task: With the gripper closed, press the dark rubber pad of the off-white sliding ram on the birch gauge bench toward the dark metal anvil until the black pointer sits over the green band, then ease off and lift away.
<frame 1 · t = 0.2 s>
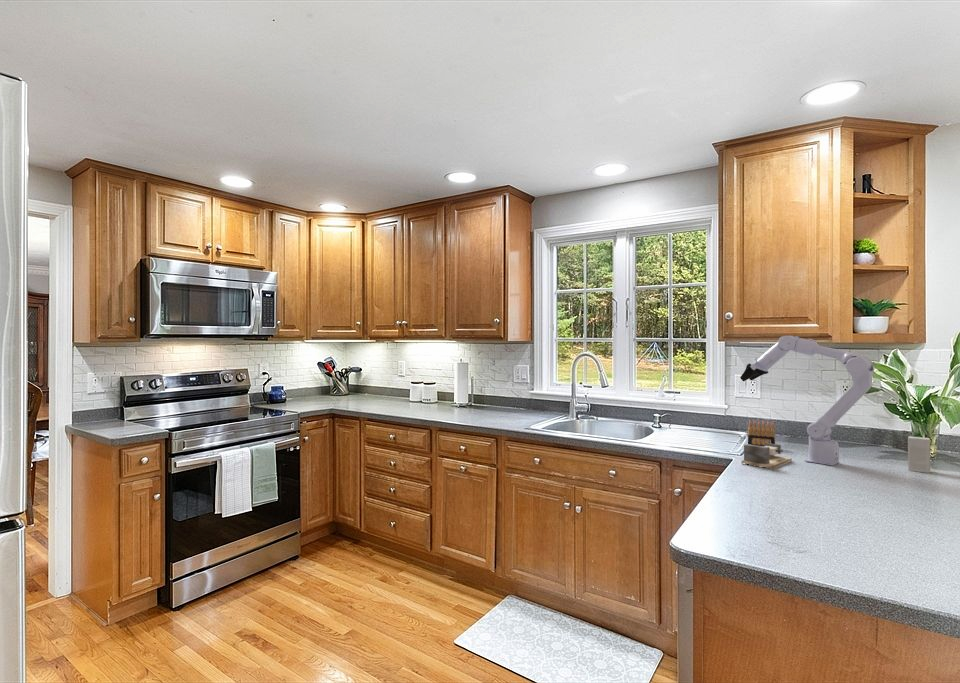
hand: (745, 379, 221), 31 cm above the worktop, tool tilted 45°, fingers open, 7 cm apart
skincare box: (919, 471, 186), on the worktop
gauge bench: (766, 461, 202), on the worktop
ammunition clip: (761, 447, 228), on the worktop
gauge ram: (771, 449, 203), point 4 cm above the worktop, slide at 0.0 cm
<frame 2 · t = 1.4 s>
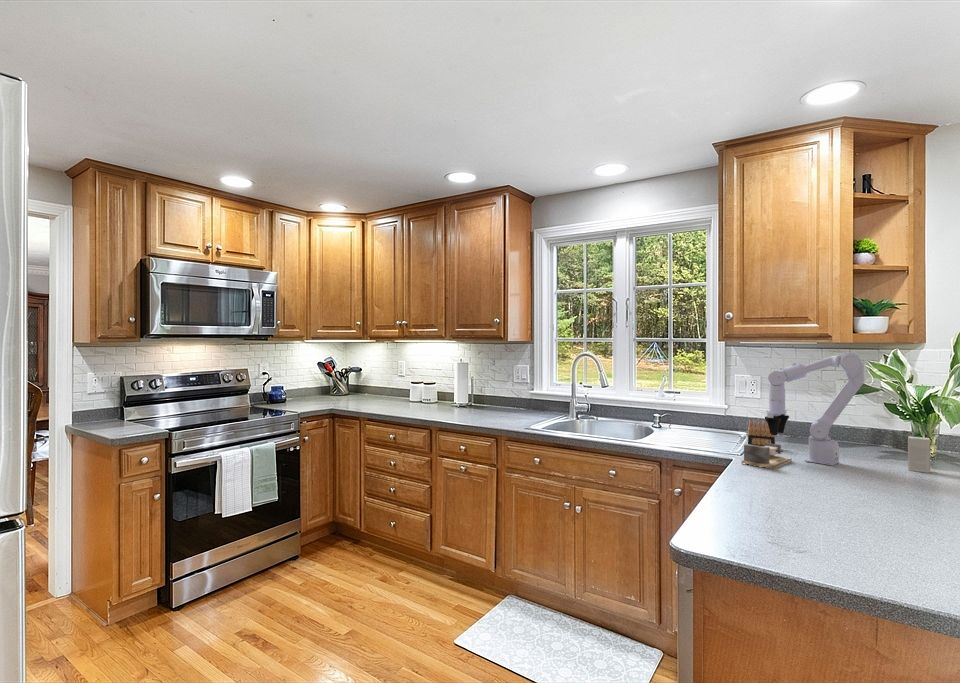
hand: (777, 433, 209), 9 cm above the worktop, tool pointing down, fingers open, 6 cm apart
nothing on the worktop moved.
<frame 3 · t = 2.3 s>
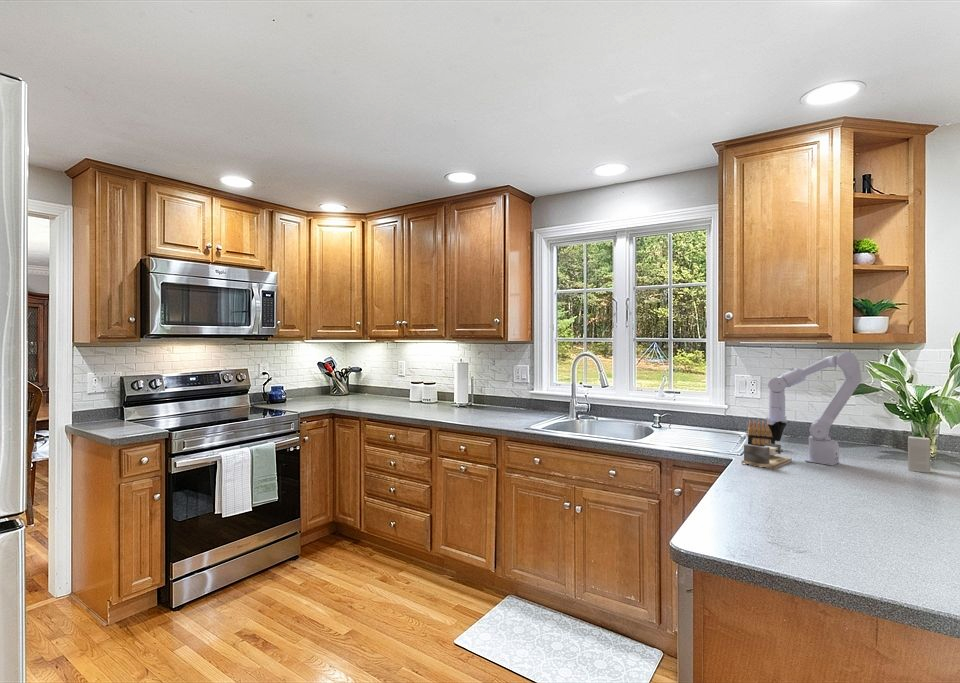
hand: (776, 440, 209), 7 cm above the worktop, tool pointing down, fingers closed
nothing on the worktop moved.
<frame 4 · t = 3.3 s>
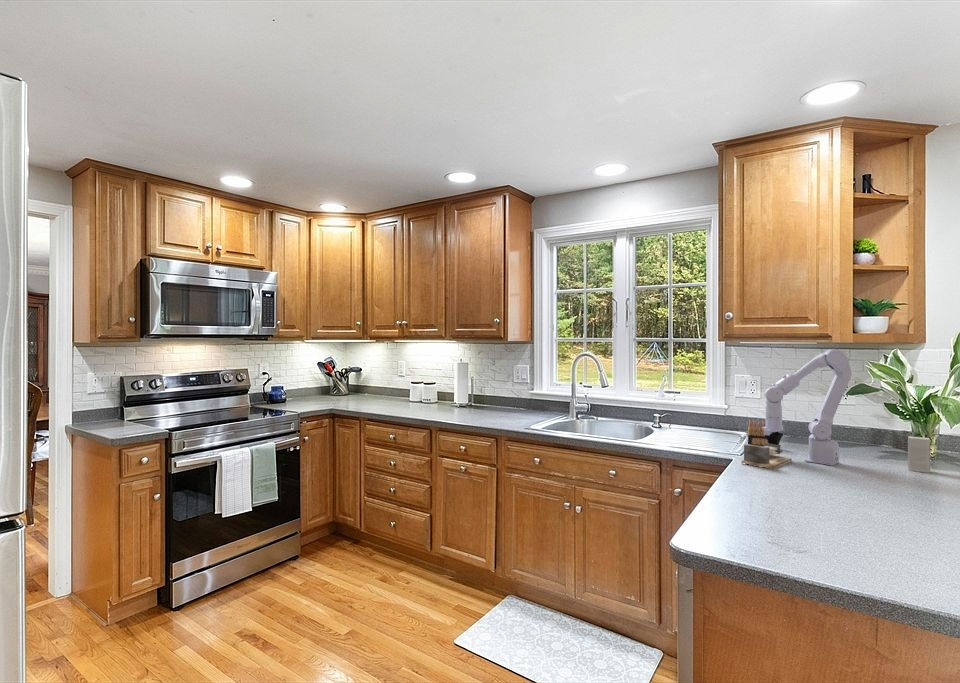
hand: (773, 451, 207), 3 cm above the worktop, tool pointing down, fingers closed
gauge ram: (770, 449, 203), point 4 cm above the worktop, slide at 0.4 cm, touching gripper
everything else where it was.
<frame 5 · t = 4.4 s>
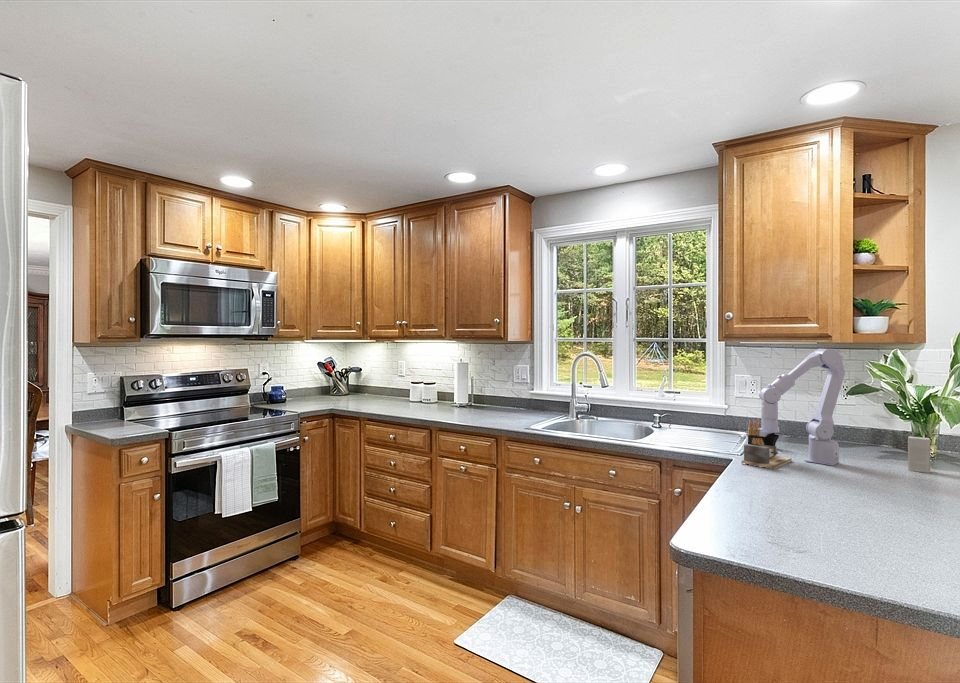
hand: (769, 452, 204), 3 cm above the worktop, tool pointing down, fingers closed
gauge ram: (766, 451, 200), point 4 cm above the worktop, slide at 4.5 cm, touching gripper
everything else where it was.
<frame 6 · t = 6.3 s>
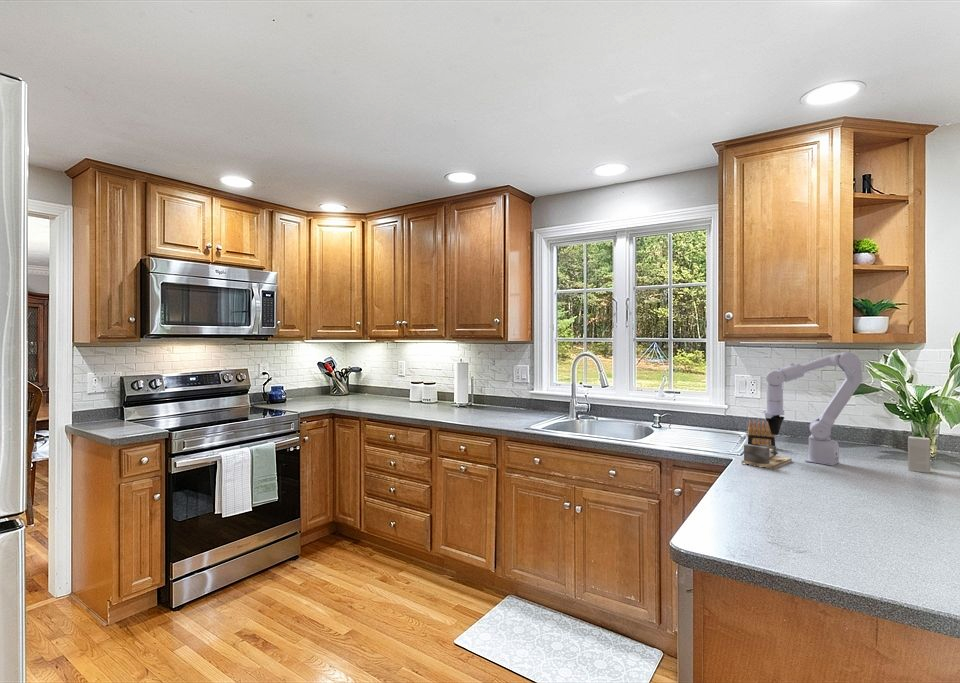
hand: (774, 434, 208), 9 cm above the worktop, tool pointing down, fingers closed
gauge ram: (766, 451, 200), point 4 cm above the worktop, slide at 4.5 cm
everything else where it was.
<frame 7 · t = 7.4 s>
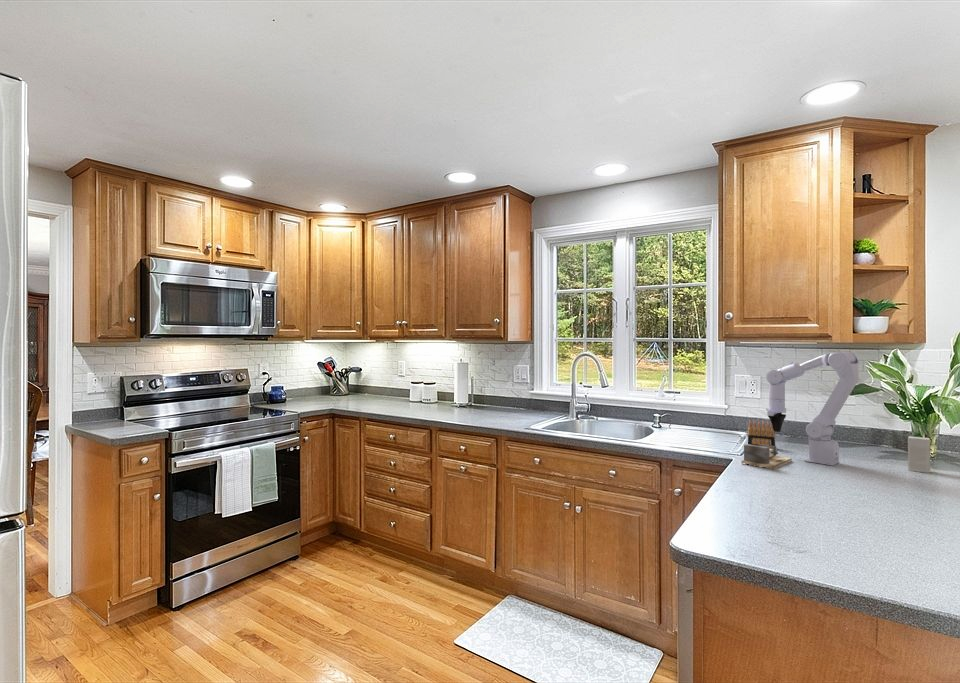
hand: (777, 431, 214), 9 cm above the worktop, tool pointing down, fingers closed
nothing on the worktop moved.
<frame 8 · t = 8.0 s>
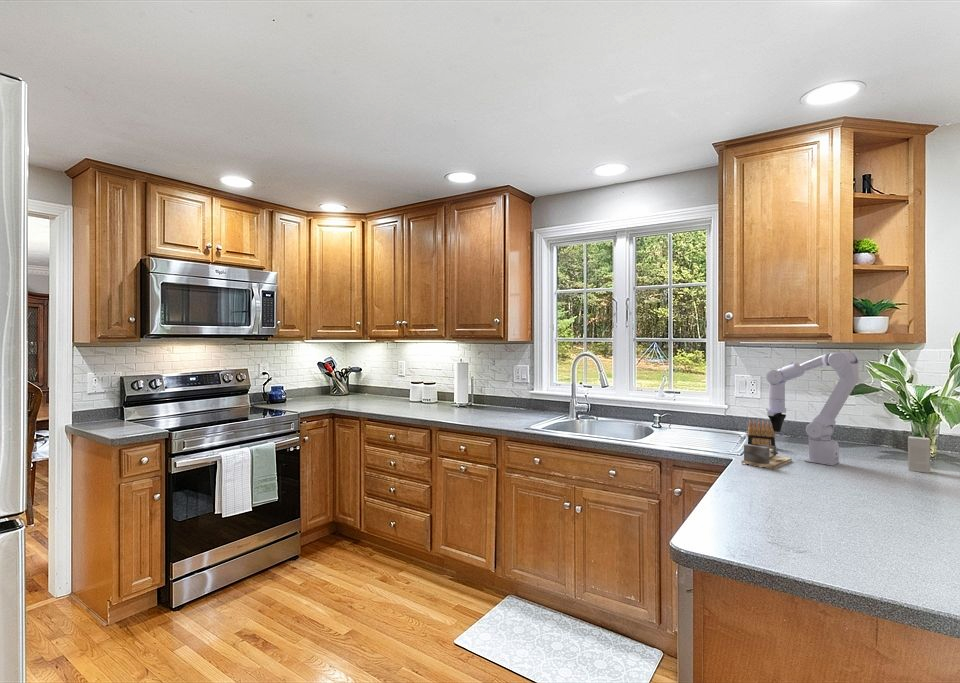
hand: (777, 431, 214), 9 cm above the worktop, tool pointing down, fingers closed
nothing on the worktop moved.
at the end: gauge ram slide at 4.5 cm; ammunition clip moved 0.3 cm from its start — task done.
